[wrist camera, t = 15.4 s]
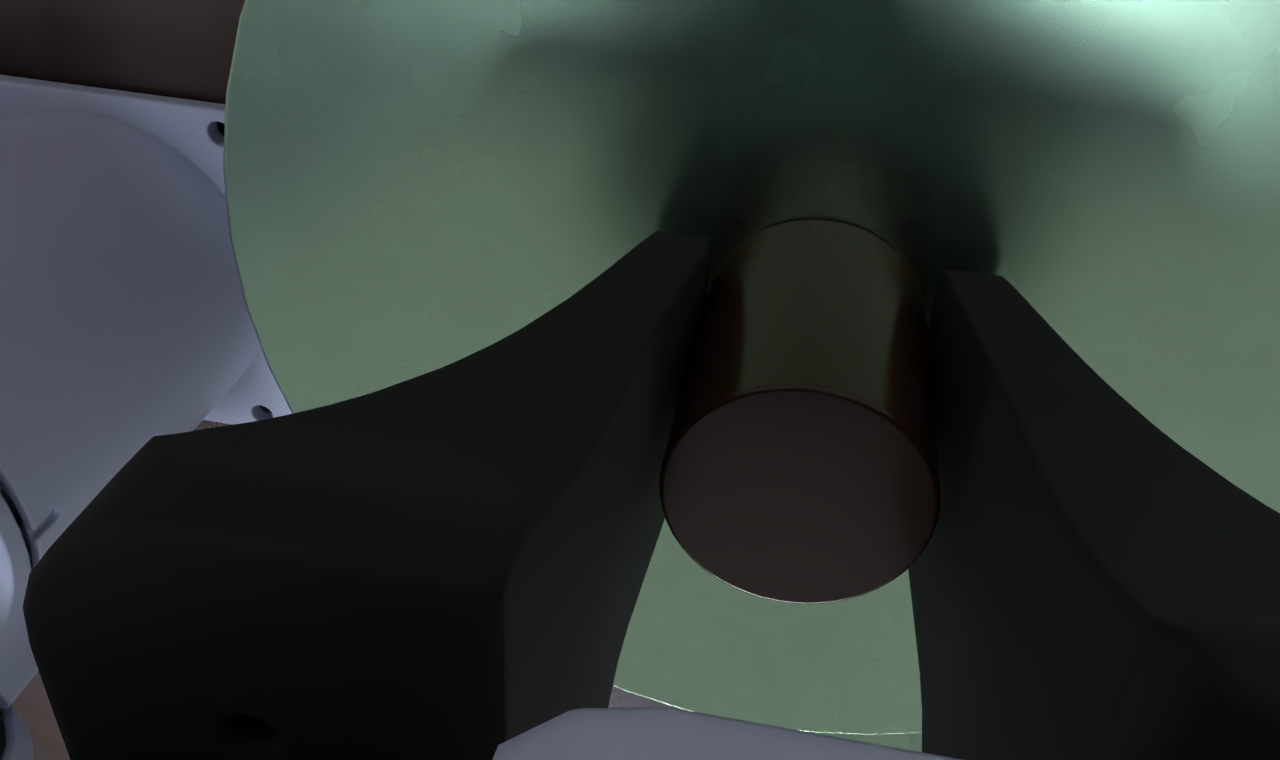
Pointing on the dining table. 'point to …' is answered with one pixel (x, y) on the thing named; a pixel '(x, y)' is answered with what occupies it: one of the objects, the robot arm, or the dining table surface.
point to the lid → (775, 260)
